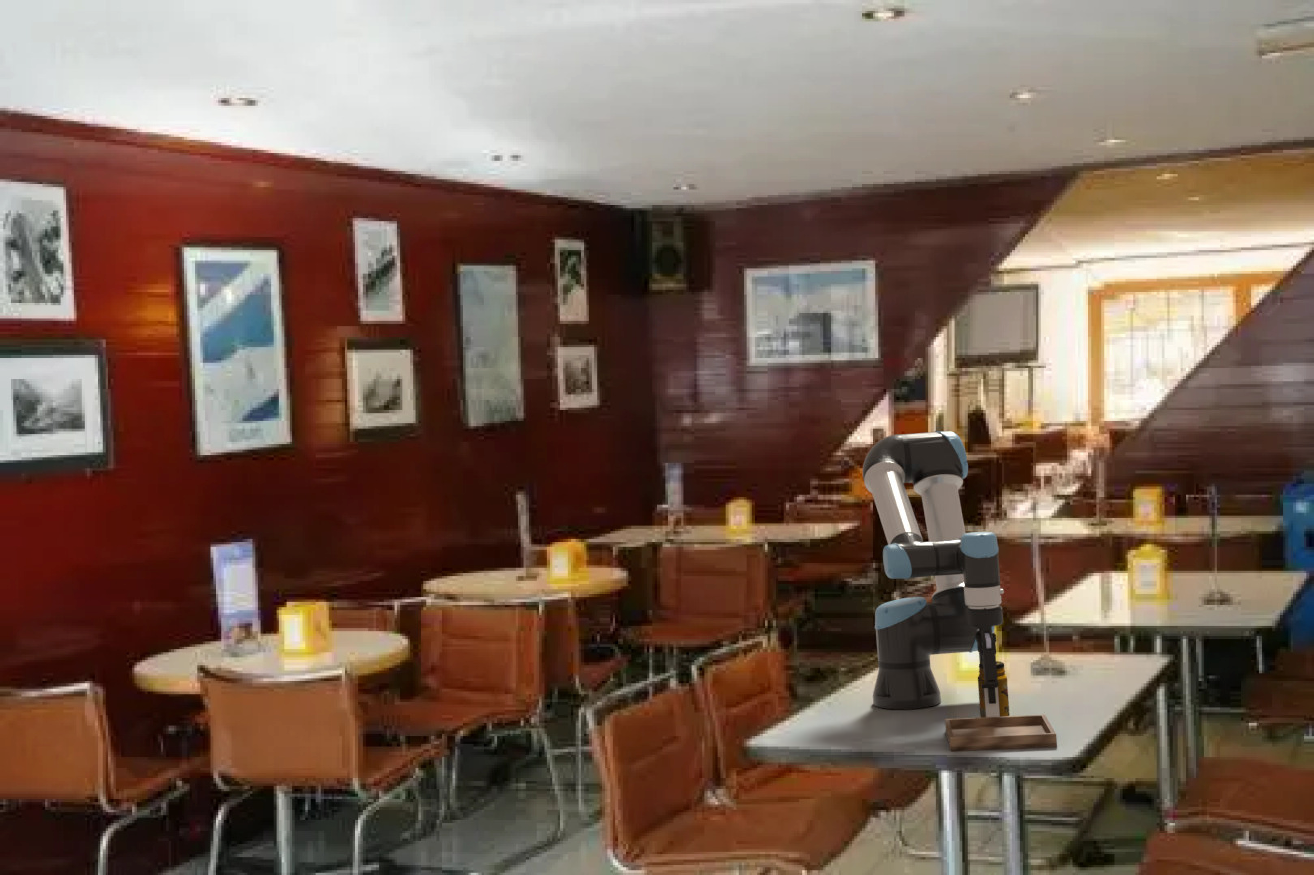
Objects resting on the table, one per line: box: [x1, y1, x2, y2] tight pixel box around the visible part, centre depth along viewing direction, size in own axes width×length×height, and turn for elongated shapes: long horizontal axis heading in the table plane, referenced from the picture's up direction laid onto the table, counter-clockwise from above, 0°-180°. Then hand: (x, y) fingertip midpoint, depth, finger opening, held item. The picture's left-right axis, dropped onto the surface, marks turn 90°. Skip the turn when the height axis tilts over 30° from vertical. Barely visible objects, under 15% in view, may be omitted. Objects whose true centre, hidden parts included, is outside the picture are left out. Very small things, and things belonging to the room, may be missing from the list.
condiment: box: [975, 660, 1011, 718], centre depth 313 cm, size 7×8×12 cm
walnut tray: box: [944, 714, 1058, 752], centre depth 295 cm, size 20×18×2 cm
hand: (991, 714), depth 313 cm, fingers open, 8 cm apart
